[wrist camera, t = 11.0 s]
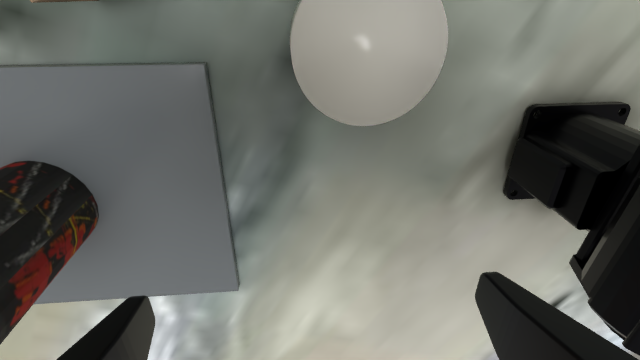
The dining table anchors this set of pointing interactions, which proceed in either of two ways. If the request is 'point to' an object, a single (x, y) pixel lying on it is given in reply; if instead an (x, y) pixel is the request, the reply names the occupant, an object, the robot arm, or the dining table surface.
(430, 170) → the dining table surface
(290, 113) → the dining table surface
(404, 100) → the off-white smooth dome
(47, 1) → the walnut box
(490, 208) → the dining table surface
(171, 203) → the slate board
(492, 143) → the dining table surface
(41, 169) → the deodorant
